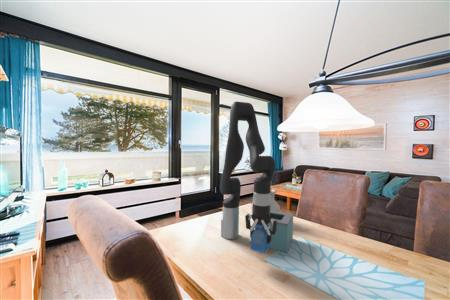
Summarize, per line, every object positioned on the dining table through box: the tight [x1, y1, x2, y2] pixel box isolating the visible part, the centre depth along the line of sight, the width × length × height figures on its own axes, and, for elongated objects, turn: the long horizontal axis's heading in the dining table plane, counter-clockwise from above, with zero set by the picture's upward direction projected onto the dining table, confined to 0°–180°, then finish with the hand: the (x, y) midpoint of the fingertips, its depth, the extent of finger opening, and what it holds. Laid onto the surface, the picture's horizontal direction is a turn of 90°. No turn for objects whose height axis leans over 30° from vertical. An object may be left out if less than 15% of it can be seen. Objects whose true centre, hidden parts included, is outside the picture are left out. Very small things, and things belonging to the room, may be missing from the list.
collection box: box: [254, 210, 294, 254], centre depth 111 cm, size 16×16×14 cm
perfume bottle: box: [250, 221, 270, 254], centre depth 89 cm, size 6×6×12 cm
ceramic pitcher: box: [250, 188, 281, 215], centre depth 141 cm, size 22×20×25 cm
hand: (260, 240), depth 89 cm, fingers closed on perfume bottle, 6 cm apart
